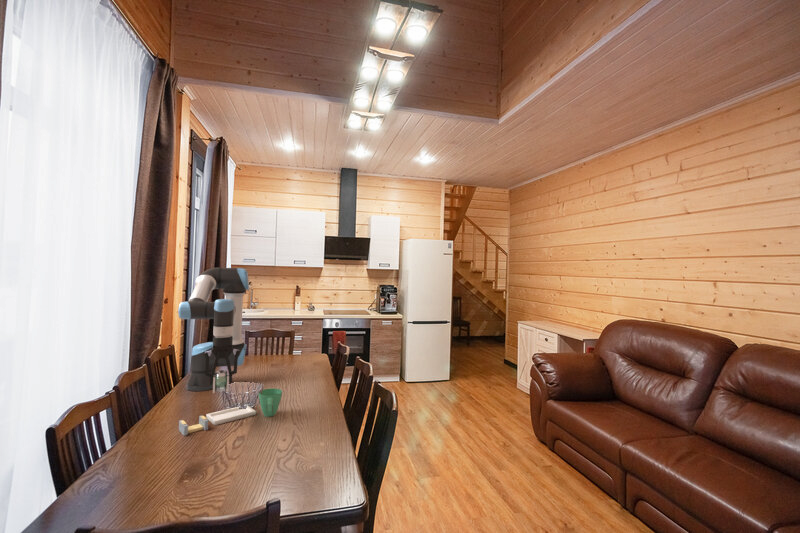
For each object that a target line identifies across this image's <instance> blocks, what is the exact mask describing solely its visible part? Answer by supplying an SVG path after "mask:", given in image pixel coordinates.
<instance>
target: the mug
mask: <svg viewBox="0 0 800 533" xmlns="http://www.w3.org/2000/svg"><path fill="white" fill-rule="evenodd" d="M282 396H283V390H282V389H280V388H272V387H271V388H265V389H262V390H261V391H258V400H259V404H260V407H261V408H260V409H261V411H262V413H263V417H266V418H267V417H268V418H269V417H270V418H271V417H274V416H276V414H277V411H278V410H279V406H280V404H281V400H282Z"/></svg>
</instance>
